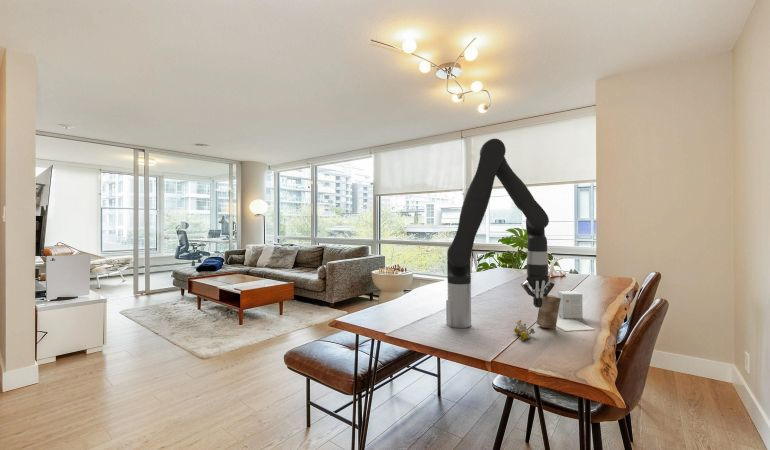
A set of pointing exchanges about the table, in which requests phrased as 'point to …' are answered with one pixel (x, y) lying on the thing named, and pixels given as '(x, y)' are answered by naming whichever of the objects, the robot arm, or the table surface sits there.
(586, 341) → the table surface
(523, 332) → the yellow-green lumpy cluster
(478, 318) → the table surface
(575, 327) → the mat
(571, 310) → the small box
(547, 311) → the walnut block
